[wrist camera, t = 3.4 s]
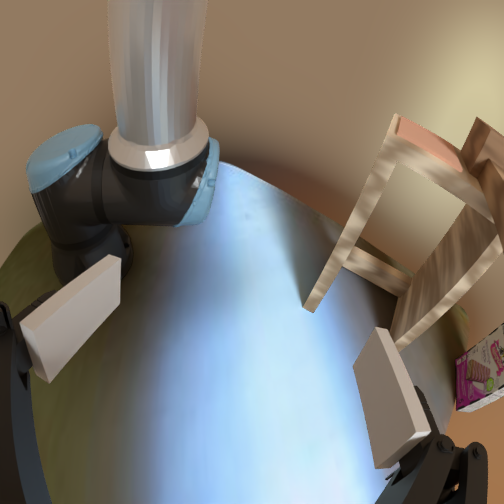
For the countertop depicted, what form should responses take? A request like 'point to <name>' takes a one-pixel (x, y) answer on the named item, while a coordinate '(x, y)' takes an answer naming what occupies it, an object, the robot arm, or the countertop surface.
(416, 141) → the mat
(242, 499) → the countertop surface
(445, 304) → the wooden open frame
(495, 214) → the mallet
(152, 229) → the countertop surface
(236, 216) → the countertop surface
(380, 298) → the countertop surface
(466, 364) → the candy bar box
